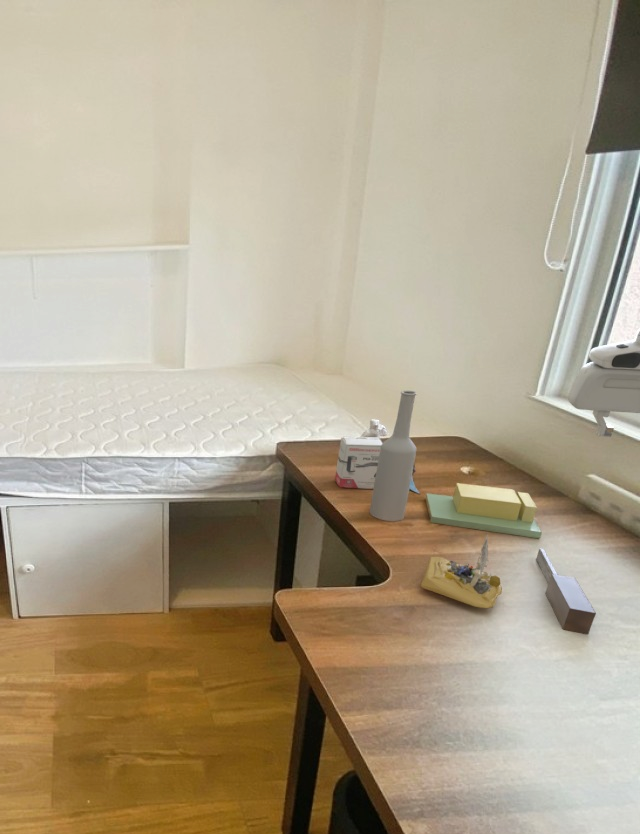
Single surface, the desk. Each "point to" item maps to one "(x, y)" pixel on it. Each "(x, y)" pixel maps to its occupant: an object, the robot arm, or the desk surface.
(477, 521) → the butter dish
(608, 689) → the desk surface
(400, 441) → the bottle
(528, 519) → the butter pat
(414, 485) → the knife
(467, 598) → the toy boat
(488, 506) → the butter
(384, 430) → the koala figurine
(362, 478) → the ink box
